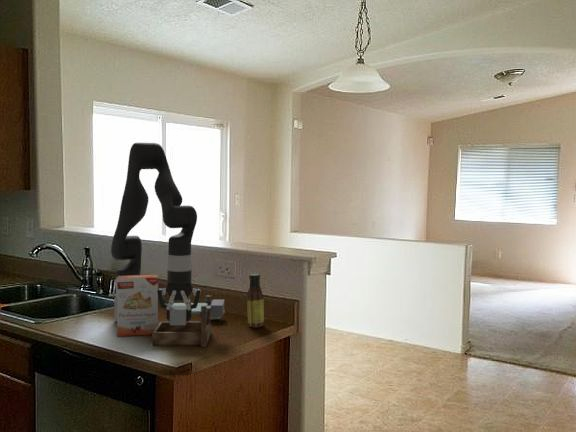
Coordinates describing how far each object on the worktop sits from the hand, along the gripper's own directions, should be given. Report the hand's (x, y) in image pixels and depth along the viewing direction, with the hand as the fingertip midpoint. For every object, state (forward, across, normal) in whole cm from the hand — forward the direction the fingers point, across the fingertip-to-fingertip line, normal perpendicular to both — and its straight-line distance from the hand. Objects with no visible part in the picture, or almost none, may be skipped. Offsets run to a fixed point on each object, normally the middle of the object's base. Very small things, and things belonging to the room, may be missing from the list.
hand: (179, 320), depth 168 cm
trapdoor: (+1, +4, +14) cm, 14 cm away
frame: (+10, -1, +13) cm, 17 cm away
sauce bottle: (+11, +24, +30) cm, 40 cm away
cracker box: (+11, -18, +20) cm, 29 cm away
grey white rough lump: (+11, +8, +39) cm, 42 cm away
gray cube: (+1, 0, 0) cm, 1 cm away
